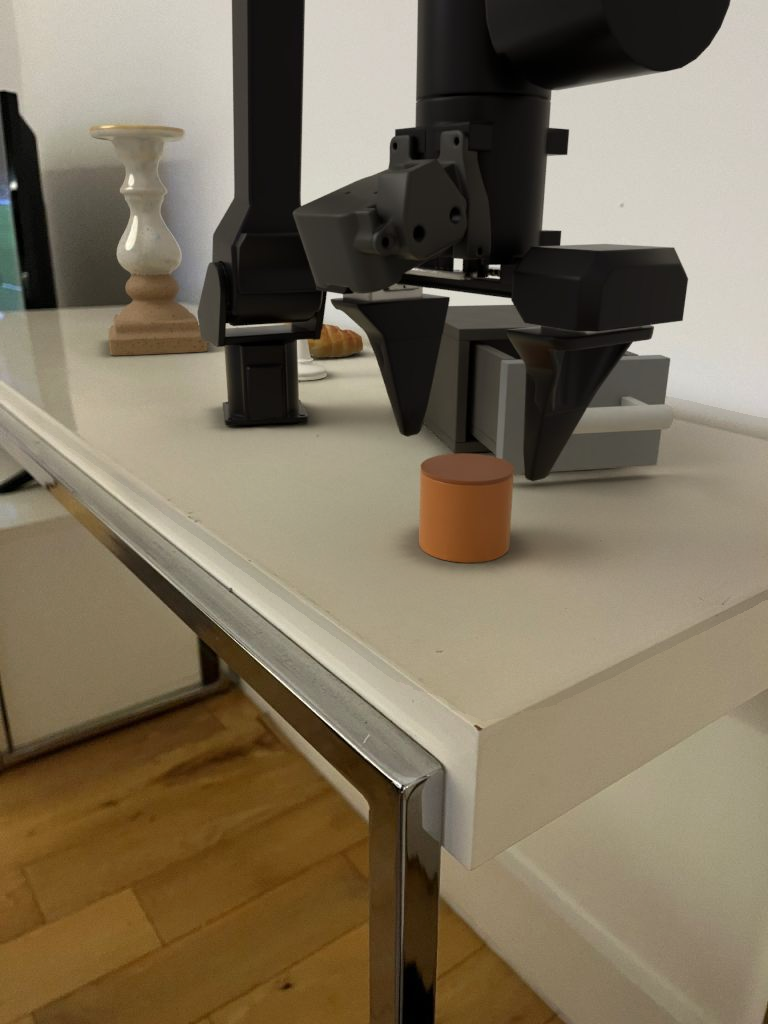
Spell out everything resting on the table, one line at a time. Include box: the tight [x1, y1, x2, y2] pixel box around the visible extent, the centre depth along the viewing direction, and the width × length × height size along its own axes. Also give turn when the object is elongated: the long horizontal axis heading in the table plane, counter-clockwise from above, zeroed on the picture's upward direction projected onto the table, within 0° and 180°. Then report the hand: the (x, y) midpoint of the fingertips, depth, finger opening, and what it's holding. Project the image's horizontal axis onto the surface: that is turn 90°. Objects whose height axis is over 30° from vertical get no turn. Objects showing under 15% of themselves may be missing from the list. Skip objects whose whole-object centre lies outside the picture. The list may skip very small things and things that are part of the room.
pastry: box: [283, 323, 364, 359], centre depth 93 cm, size 9×7×4 cm
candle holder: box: [89, 124, 209, 356], centre depth 95 cm, size 11×11×24 cm
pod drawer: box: [466, 340, 675, 475], centre depth 53 cm, size 16×10×7 cm, turn 12°
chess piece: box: [297, 339, 328, 382], centre depth 81 cm, size 5×5×10 cm
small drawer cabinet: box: [422, 304, 541, 454], centre depth 63 cm, size 13×12×9 cm
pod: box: [418, 453, 515, 564], centre depth 41 cm, size 5×5×4 cm
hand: (467, 455), depth 40 cm, fingers open, 9 cm apart
